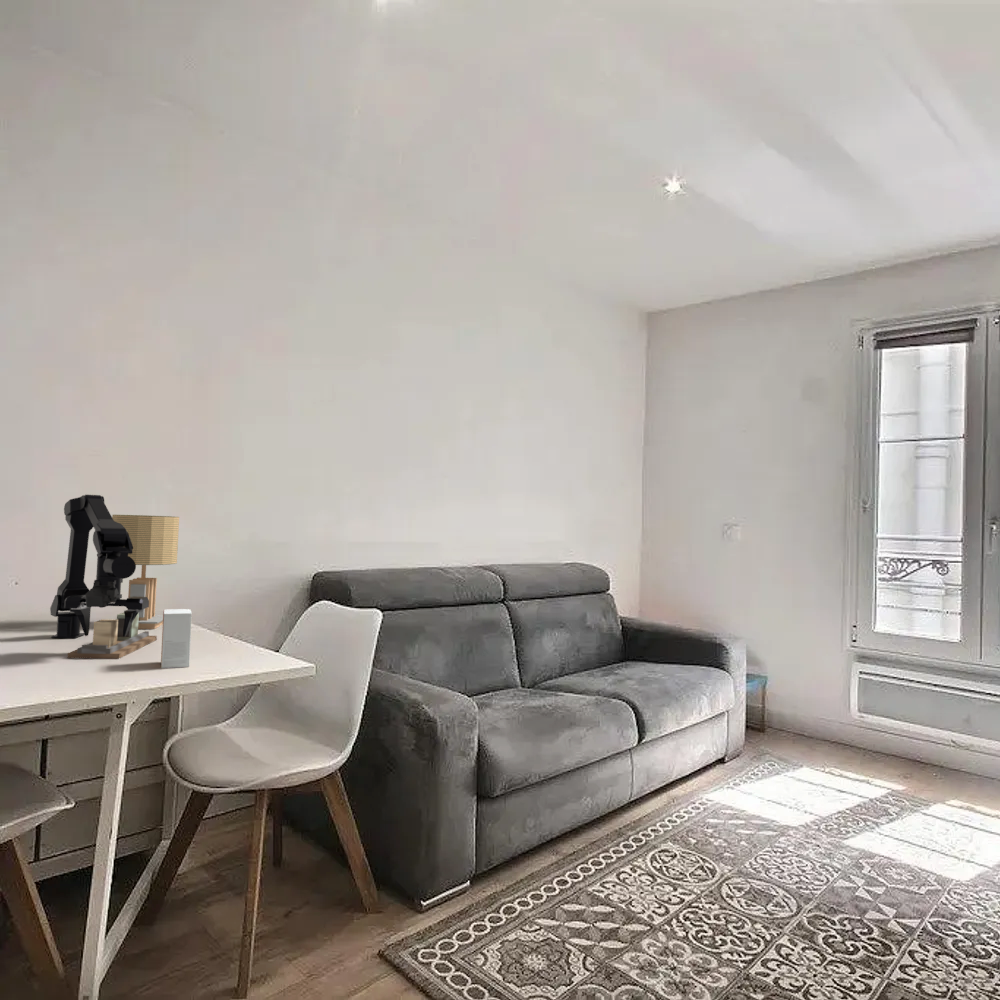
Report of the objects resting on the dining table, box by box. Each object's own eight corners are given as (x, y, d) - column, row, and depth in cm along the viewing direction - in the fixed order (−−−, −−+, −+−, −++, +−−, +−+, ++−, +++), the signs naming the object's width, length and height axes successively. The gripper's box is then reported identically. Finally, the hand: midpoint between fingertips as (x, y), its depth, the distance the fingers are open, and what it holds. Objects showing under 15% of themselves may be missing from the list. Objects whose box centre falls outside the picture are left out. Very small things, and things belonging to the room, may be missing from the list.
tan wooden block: (101, 646, 189) (102, 619, 189) (117, 646, 190) (118, 619, 190) (92, 649, 184) (93, 622, 184) (109, 650, 184) (110, 622, 185)
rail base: (112, 639, 207) (113, 610, 207) (156, 639, 208) (157, 611, 209) (67, 658, 179) (69, 624, 179) (119, 658, 181) (120, 625, 181)
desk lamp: (166, 630, 225) (172, 517, 226) (97, 630, 221) (103, 514, 222) (180, 621, 244) (185, 516, 245) (116, 621, 240) (122, 514, 241)
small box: (160, 661, 179) (163, 609, 179) (188, 660, 182) (191, 608, 182) (160, 668, 172) (163, 613, 172) (189, 667, 174) (192, 612, 175)
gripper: (55, 576, 178) (51, 640, 178) (135, 579, 181) (132, 642, 180) (75, 573, 189) (72, 633, 189) (151, 575, 192) (147, 634, 191)
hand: (105, 636), depth 187 cm, fingers open, 9 cm apart
